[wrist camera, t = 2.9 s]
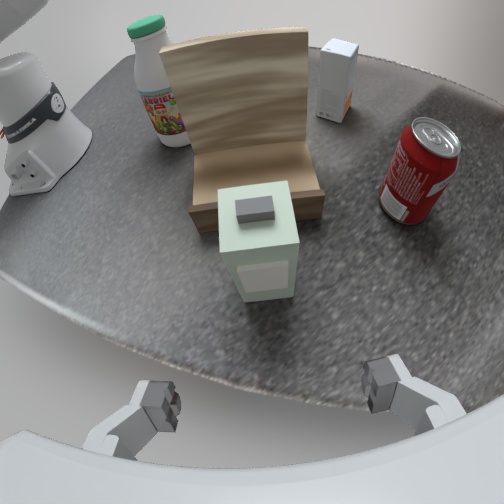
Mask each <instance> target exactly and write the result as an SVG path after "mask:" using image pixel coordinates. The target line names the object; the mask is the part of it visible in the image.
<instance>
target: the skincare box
mask: <svg viewBox="0 0 504 504" xmlns="http://www.w3.org/2000/svg"><path fill="white" fill-rule="evenodd" d="M358 48H359V45H358V44H354V43H350V42H346V41H342V40H338V39H334V38H333V39H331V40H330V41H329V42H328V43H326V45H325V46H324V47H323V48H322V49H321V50H320V62H319V81H318V95H317V109H316V115H317V116H319V117H322V118H326V119H329V120H332V121H335V122H338V123H341V122H342V120H343V118H344V116H345V114H346V112H347V110H348V108H349V106H350V103H351V97H352V91H353V85H354V78H355V71H356V64H357V56H358Z"/></svg>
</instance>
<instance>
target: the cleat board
mask: <svg viewBox="0 0 504 504" xmlns="http://www.w3.org/2000/svg"><path fill="white" fill-rule="evenodd" d="M159 55H160V58H161V61H162V63H163V66H164V69H165V72H166V75H167V78H168V81H169V84H170V87H171V89H172V92H173V95H174V98H175V101H176V104H177V106H178V109H179V112H180V115H181V118H182V121H183V123H184V126H185V129H186V132H187V134H188V137H189V140H190V143H191V145H192V148H193V151H194V154H195V162H194V183H193V206H189V214H190V216H191V218H192V220H193V222H194V224H195V226H196V227H197V229H198V231H199V233H204V232H211V231H218V230H219V218H218V189H225V188H232V187H239V186H246V185H254V184H262V183H270V182H279V181H288V186H289V191H290V196H291V201H292V206H293V211H294V216H295V221H298V220H307V219H316V218H321V215H322V210H323V204H324V199H325V193H324V189H320V187H319V184H318V180H317V177H316V173H315V170H314V166H313V163H312V160H311V156H310V153H309V150H308V147H307V143H306V119H307V90H308V31H307V30H306V29H305V28H304V27H288V28H271V29H258V30H249V31H240V32H234V33H226V34H220V35H214V36H208V37H204V38H198V39H194V40H189V41H185V42H181V43H176V44H172V45H168V46H165V47H162V48H161V50H160V52H159Z"/></svg>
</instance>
